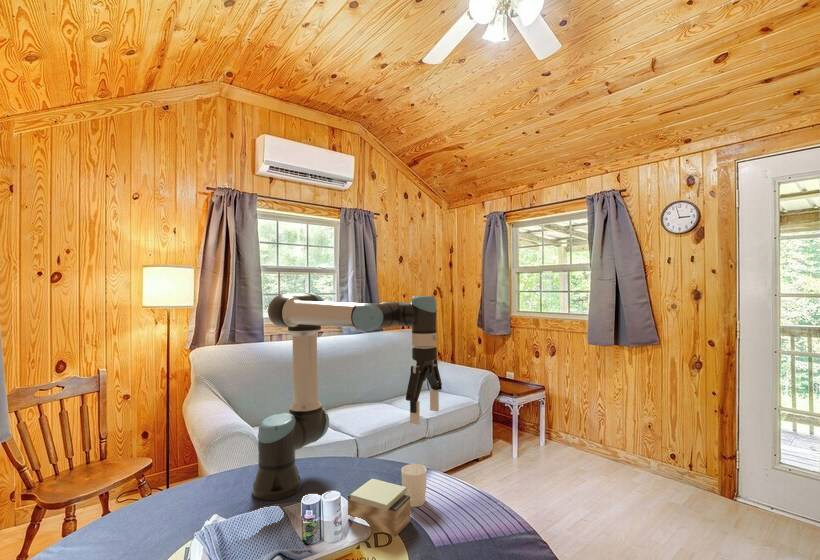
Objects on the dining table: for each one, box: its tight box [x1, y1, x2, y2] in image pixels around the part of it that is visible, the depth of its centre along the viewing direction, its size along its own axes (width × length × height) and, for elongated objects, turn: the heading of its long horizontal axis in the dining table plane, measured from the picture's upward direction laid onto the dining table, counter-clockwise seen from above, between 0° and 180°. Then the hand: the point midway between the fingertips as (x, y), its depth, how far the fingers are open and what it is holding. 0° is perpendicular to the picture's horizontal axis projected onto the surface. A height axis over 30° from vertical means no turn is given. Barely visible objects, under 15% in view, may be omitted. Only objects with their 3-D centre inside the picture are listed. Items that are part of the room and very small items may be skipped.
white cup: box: [400, 463, 428, 508], centre depth 129 cm, size 8×8×10 cm
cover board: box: [349, 478, 407, 511], centre depth 118 cm, size 12×11×2 cm
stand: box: [347, 483, 411, 537], centre depth 118 cm, size 16×8×7 cm, turn 62°
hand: (425, 416), depth 126 cm, fingers open, 13 cm apart
